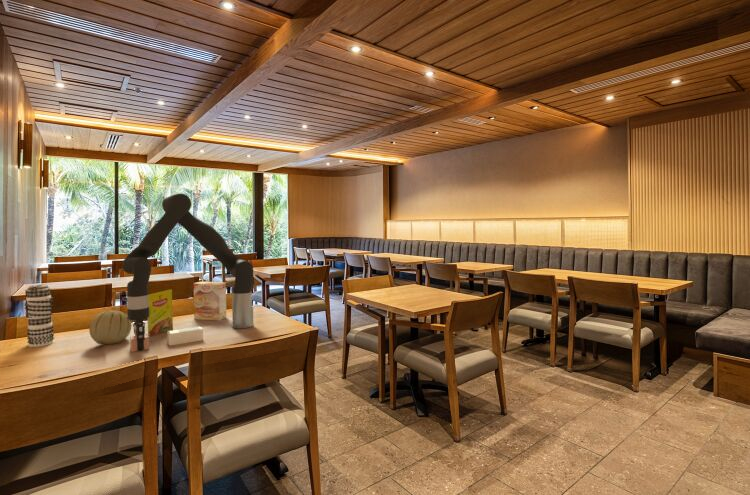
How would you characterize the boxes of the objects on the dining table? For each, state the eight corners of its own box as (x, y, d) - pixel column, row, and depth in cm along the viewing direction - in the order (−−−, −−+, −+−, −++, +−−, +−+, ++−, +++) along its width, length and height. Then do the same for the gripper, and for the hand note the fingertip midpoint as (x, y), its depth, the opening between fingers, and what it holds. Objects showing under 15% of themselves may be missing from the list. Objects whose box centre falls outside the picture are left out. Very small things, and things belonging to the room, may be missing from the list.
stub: (147, 345, 159) (147, 333, 159) (149, 348, 155) (148, 336, 155) (130, 348, 156) (130, 336, 155) (131, 351, 152) (131, 339, 151)
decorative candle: (60, 341, 167) (57, 284, 166) (35, 348, 159) (32, 287, 157) (46, 339, 170) (43, 283, 169) (21, 345, 162) (18, 286, 160)
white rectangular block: (200, 337, 171) (200, 326, 171) (203, 340, 167) (202, 328, 167) (167, 342, 163) (167, 330, 163) (169, 345, 159) (169, 333, 159)
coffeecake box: (193, 319, 206) (192, 283, 204) (201, 316, 213) (200, 281, 211) (219, 320, 203) (218, 284, 202) (226, 317, 210) (226, 282, 209)
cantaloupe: (86, 352, 154) (85, 315, 153) (93, 341, 167) (91, 307, 166) (130, 346, 161) (129, 311, 160) (133, 337, 174) (132, 304, 173)
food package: (149, 340, 170) (147, 295, 169) (147, 339, 171) (145, 295, 169) (173, 330, 185) (172, 289, 184) (171, 330, 186) (170, 289, 184)
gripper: (151, 308, 151) (153, 351, 152) (146, 302, 162) (148, 341, 163) (128, 311, 146) (130, 355, 147) (125, 304, 158) (127, 345, 159)
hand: (139, 348), depth 155 cm, fingers closed on stub, 5 cm apart
